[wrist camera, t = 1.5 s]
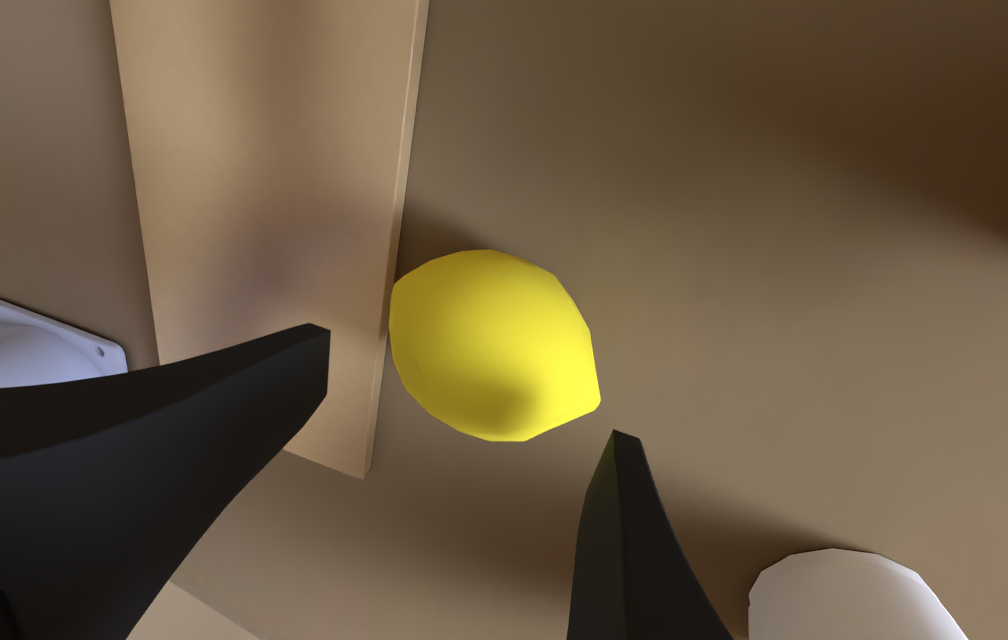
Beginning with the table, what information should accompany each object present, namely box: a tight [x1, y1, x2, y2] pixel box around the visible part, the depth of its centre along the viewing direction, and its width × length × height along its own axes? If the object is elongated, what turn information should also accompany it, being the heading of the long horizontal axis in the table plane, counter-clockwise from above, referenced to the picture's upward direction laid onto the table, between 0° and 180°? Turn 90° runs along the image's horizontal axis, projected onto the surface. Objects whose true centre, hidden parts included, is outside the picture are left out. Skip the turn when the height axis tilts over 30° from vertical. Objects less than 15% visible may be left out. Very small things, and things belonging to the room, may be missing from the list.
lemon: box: [389, 249, 601, 441], centre depth 15 cm, size 7×5×5 cm
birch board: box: [109, 0, 430, 480], centre depth 18 cm, size 10×20×1 cm, turn 168°
